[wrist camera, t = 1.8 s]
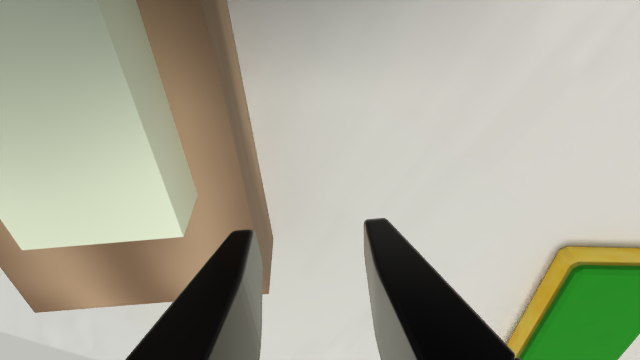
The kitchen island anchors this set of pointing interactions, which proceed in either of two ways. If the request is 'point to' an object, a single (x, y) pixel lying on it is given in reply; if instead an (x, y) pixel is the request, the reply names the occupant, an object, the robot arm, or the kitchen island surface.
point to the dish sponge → (582, 307)
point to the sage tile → (86, 128)
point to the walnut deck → (205, 167)
